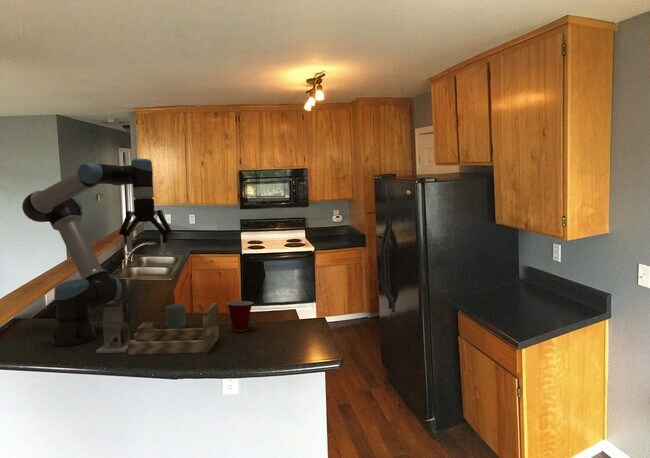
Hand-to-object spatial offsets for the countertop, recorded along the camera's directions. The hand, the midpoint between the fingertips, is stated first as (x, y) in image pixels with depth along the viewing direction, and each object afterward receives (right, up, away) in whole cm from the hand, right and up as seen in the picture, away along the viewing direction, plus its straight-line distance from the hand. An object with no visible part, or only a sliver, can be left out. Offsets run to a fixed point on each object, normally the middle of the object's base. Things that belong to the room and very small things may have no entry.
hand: (146, 251), depth 178 cm
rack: (+16, -34, -11) cm, 39 cm away
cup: (+8, -34, +12) cm, 37 cm away
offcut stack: (+5, -35, -12) cm, 37 cm away
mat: (-6, -35, -12) cm, 37 cm away
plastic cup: (+36, -33, +8) cm, 50 cm away
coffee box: (-6, -34, -12) cm, 37 cm away
